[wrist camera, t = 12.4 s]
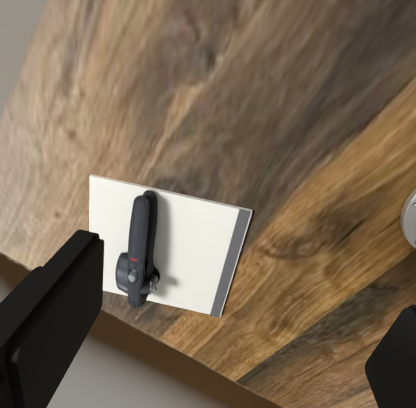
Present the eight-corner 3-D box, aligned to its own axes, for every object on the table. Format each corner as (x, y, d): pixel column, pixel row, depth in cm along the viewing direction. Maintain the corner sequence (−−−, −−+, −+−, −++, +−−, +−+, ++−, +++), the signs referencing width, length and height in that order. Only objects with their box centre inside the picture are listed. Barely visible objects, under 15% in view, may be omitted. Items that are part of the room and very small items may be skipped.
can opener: (160, 291, 47) (151, 319, 42) (118, 281, 47) (103, 308, 42) (178, 192, 39) (168, 213, 34) (126, 180, 39) (109, 199, 34)
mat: (252, 209, 39) (252, 212, 39) (220, 313, 49) (220, 317, 48) (91, 173, 40) (89, 176, 39) (90, 284, 49) (88, 287, 48)
